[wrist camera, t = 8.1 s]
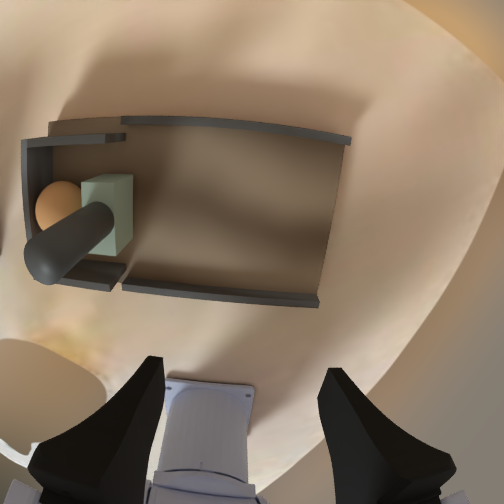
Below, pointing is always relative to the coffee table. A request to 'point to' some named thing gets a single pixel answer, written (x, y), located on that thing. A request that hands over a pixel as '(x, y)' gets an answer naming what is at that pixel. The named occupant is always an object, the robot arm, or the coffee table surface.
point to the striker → (85, 229)
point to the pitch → (200, 204)
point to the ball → (57, 203)
